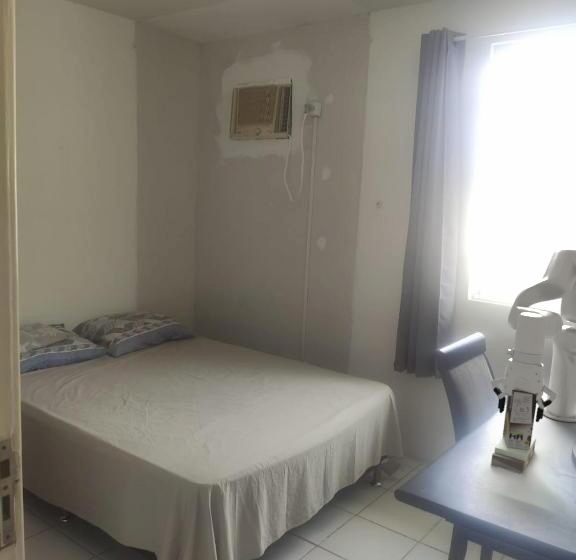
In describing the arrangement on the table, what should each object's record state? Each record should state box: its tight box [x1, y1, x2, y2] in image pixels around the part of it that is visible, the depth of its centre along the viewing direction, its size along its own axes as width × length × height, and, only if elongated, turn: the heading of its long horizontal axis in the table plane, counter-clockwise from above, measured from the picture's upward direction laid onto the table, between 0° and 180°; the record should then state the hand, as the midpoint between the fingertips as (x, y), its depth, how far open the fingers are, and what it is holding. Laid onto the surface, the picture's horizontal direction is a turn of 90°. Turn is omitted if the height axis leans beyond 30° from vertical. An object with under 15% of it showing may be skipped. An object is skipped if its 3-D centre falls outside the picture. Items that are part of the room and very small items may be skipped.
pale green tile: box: [493, 436, 537, 461], centre depth 160 cm, size 16×8×2 cm, turn 147°
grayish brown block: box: [490, 443, 536, 475], centre depth 159 cm, size 18×8×3 cm, turn 147°
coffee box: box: [502, 390, 538, 450], centre depth 159 cm, size 9×6×16 cm
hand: (519, 416), depth 158 cm, fingers open, 9 cm apart
